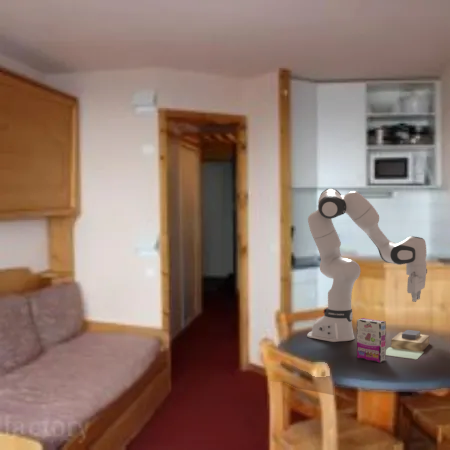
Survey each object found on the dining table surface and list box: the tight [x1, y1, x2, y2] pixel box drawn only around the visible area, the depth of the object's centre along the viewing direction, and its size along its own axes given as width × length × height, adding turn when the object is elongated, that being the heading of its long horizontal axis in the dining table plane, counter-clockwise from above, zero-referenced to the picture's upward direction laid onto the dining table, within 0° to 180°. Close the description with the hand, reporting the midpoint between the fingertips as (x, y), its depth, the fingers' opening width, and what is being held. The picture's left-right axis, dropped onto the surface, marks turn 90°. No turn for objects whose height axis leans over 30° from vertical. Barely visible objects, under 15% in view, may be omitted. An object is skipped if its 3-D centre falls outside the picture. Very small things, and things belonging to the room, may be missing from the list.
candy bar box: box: [356, 317, 387, 363], centre depth 230 cm, size 11×5×16 cm, turn 45°
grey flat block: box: [402, 329, 421, 340], centre depth 251 cm, size 6×9×2 cm, turn 148°
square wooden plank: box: [390, 331, 430, 352], centre depth 250 cm, size 13×16×4 cm
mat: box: [386, 346, 425, 361], centre depth 238 cm, size 15×13×1 cm
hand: (416, 300), depth 258 cm, fingers open, 5 cm apart
